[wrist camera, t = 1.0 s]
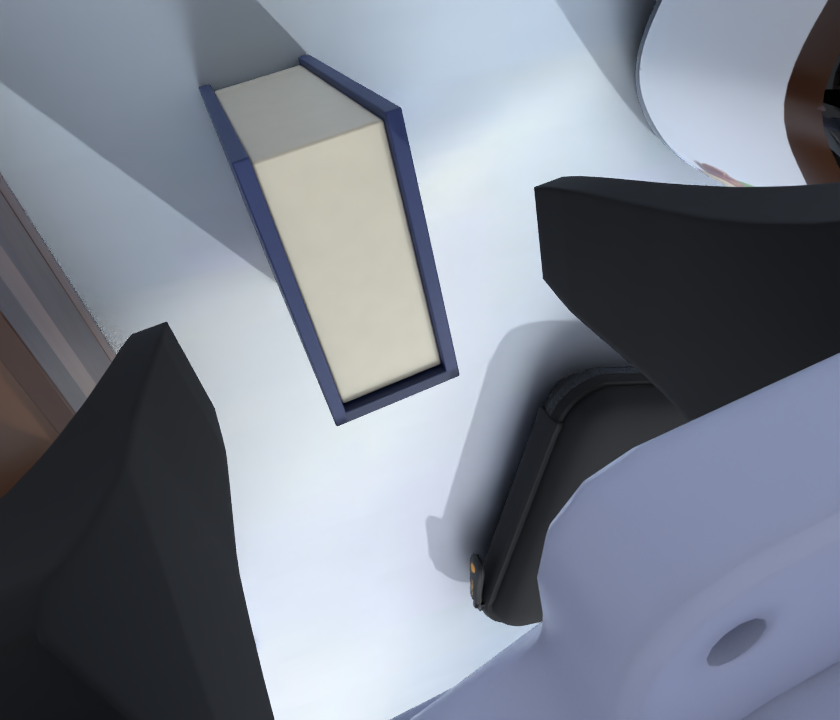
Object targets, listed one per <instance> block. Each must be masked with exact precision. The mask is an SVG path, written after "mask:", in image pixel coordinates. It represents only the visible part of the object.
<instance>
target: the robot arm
mask: <svg viewBox="0 0 840 720" xmlns="http://www.w3.org/2000/svg"><path fill="white" fill-rule="evenodd" d="M534 191H535V201H536V211H537V221H538V232H539V242H540V252H541V262H542V272H543V279H544V280H545V281H546V283H547V284H548V285H549V286H550V288H551V289H552V290H553V291H554V293H555V294H556V295H557V297H558V298H559V299H560V300H561V301H562V302H563V303H564V305H565V306H566V307H567V308H568V309H569V310H570V311H571V312H572V313H573V314H574V315H575V316H576V317H577V318H578V319H579V320H581V321H582V322H583V323H584V324H585V325H586V326H587V327H589V328H590V329H591V330H592V331H593V332H594V333H595V334H597V335H598V336H599V337H600V338H601V339H602V340H604V341H605V342H606V343H607V344H608V345H609V346H611V347H612V348H613V349H614V350H615V351H616V352H618V353H619V354H620V355H621V356H622V357H623V358H625V359H626V360H627V361H628V362H629V363H630V364H632V365H633V366H634V367H635V368H636V369H638V370H639V371H640V372H641V373H642V374H643V375H644V376H645V377H647V378H648V379H649V380H650V381H651V382H652V383H653V384H654V385H655V386H656V387H657V388H658V389H659V390H660V391H661V392H662V393H663V394H664V395H665V396H666V397H667V398H668V400H669V401H670V402H671V403H672V404H673V405H674V406H675V407H676V408H677V409H678V410H679V412H680V413H681V414H682V415H683V416H684V417H685V418H686V419H687V420H688V421H689V422H688V423H686V424H684V425H682V426H679V427H677V428H675V429H673V430H671V431H669V432H666V433H664V434H662V435H660V436H658V437H656V438H653V439H651V440H649V441H647V442H645V443H642V444H640V445H638V446H636V447H634V448H632V449H630V450H629V451H627V452H626V453H625V454H623V455H622V456H620V457H619V458H617V459H616V460H614V461H613V462H611V463H610V464H608V465H607V466H605V467H604V468H602V469H601V470H599V471H598V472H596V473H595V474H593V475H592V476H590V477H589V478H588V479H586V480H585V481H583V483H582V484H581V485H580V486H579V488H578V489H577V490H576V492H575V493H574V494H573V495H572V497H571V498H570V499H569V501H568V502H567V503H566V504H565V506H564V507H563V508H562V510H561V511H560V512H559V513H558V515H557V516H556V517H555V519H554V520H553V521H552V522H551V524H550V526H549V528H548V531H547V534H546V538H545V543H544V548H543V552H542V557H541V561H540V566H539V571H538V575H537V580H538V586H539V592H540V598H541V605H542V611H543V621H542V622H541V623H539V624H538V625H536V626H535V627H534V628H532V629H531V630H530V631H528V632H527V633H526V634H524V635H523V636H522V637H520V638H519V639H518V640H516V641H515V642H514V643H512V644H511V645H509V646H508V647H507V648H505V649H504V650H503V651H501V652H500V653H499V654H497V655H496V656H495V657H493V658H492V659H491V660H489V661H488V662H487V663H485V664H484V665H483V666H481V667H480V668H479V669H477V670H476V671H475V672H473V673H472V674H470V675H469V676H468V677H466V678H465V679H464V680H462V681H461V682H460V683H458V684H457V685H456V686H454V687H453V688H451V689H449V690H447V691H445V692H443V693H442V694H440V695H438V696H436V697H434V698H432V699H430V700H428V701H426V702H424V703H422V704H420V705H418V706H416V707H414V708H412V709H410V710H408V711H406V712H404V713H402V714H400V715H398V716H396V717H394V718H392V719H390V720H840V182H835V183H824V184H812V185H797V186H768V187H719V186H699V185H682V184H668V183H657V182H646V181H635V180H625V179H614V178H602V177H587V176H569V177H561V178H558V179H555V180H553V181H550V182H547V183H544V184H542V185H539V186H536V187H534ZM0 720H274V716H273V712H272V708H271V704H270V701H269V697H268V693H267V689H266V685H265V681H264V678H263V673H262V669H261V665H260V661H259V657H258V653H257V649H256V644H255V640H254V636H253V632H252V628H251V624H250V619H249V615H248V610H247V606H246V601H245V597H244V592H243V588H242V583H241V579H240V574H239V567H238V561H237V554H236V544H235V534H234V524H233V514H232V504H231V494H230V484H229V475H228V465H227V457H226V450H225V446H224V442H223V438H222V434H221V430H220V426H219V423H218V419H217V415H216V411H215V408H214V406H213V404H212V403H211V401H210V399H209V397H208V395H207V393H206V392H205V390H204V388H203V386H202V384H201V383H200V381H199V379H198V377H197V375H196V374H195V372H194V370H193V368H192V366H191V365H190V363H189V361H188V359H187V357H186V356H185V354H184V352H183V350H182V348H181V346H180V345H179V343H178V341H177V339H176V337H175V336H174V334H173V332H172V330H171V328H170V327H169V325H168V323H167V322H164V323H162V324H159V325H156V326H153V327H151V328H148V329H145V330H142V331H140V332H137V333H134V334H132V335H131V336H130V337H129V338H128V339H127V341H126V342H125V343H124V345H123V346H122V348H121V349H120V351H119V352H118V354H117V355H116V357H115V358H114V360H113V361H112V363H111V364H110V366H109V367H108V369H107V370H106V372H105V373H104V374H103V376H102V377H101V379H100V380H99V382H98V383H97V385H96V386H95V388H94V389H93V391H92V392H91V394H90V395H89V396H88V398H87V399H86V401H85V402H84V403H83V405H82V406H81V407H80V409H79V410H78V411H77V413H76V414H75V415H74V416H73V418H72V419H71V420H70V422H69V423H68V424H67V426H66V427H65V428H64V430H63V431H62V432H61V433H60V435H59V436H58V437H57V439H56V440H55V441H54V442H53V444H52V445H51V446H50V447H49V448H48V450H47V451H46V452H45V453H44V454H43V455H42V456H41V458H40V459H39V460H38V461H37V462H36V463H35V464H34V465H33V466H32V467H31V469H30V470H29V471H28V472H27V473H26V474H25V475H24V476H23V477H22V478H21V479H20V480H19V481H18V482H17V483H16V484H15V485H14V486H13V488H12V489H11V490H9V491H8V492H7V493H6V494H5V495H4V496H3V497H2V498H1V499H0Z"/></svg>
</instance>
